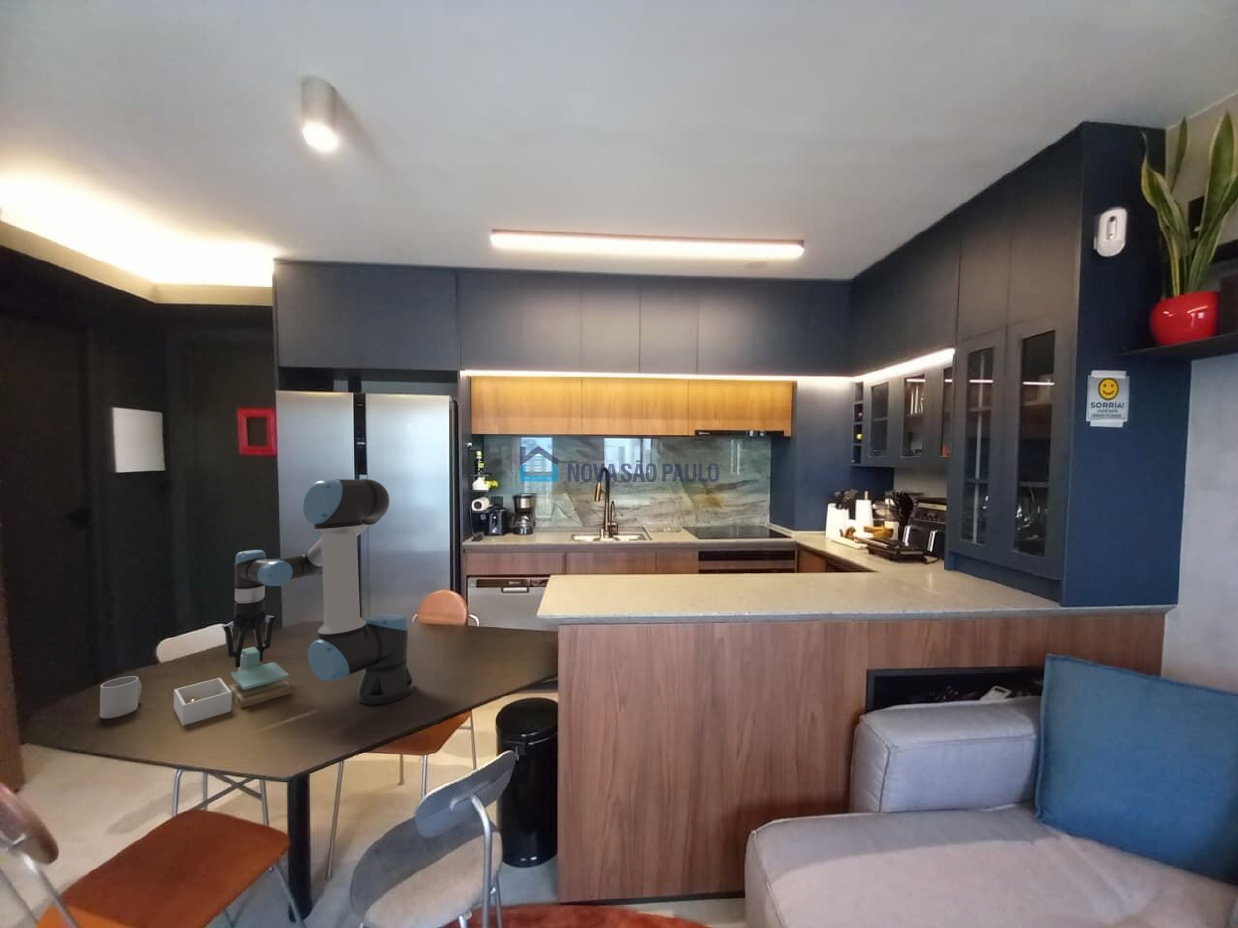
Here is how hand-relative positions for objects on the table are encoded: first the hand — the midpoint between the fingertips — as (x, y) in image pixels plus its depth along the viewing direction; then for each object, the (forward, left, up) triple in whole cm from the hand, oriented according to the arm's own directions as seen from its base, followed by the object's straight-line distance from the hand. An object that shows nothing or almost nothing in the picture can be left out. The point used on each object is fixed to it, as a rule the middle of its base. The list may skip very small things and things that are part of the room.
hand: (248, 674), depth 150 cm
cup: (+4, +27, -3) cm, 28 cm away
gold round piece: (-10, +14, -2) cm, 18 cm away
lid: (-9, 0, +2) cm, 9 cm away
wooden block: (-13, 0, -3) cm, 13 cm away
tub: (-13, +13, -3) cm, 18 cm away
